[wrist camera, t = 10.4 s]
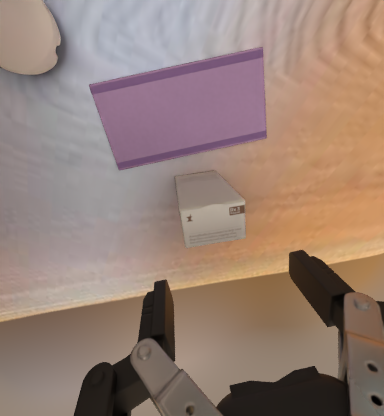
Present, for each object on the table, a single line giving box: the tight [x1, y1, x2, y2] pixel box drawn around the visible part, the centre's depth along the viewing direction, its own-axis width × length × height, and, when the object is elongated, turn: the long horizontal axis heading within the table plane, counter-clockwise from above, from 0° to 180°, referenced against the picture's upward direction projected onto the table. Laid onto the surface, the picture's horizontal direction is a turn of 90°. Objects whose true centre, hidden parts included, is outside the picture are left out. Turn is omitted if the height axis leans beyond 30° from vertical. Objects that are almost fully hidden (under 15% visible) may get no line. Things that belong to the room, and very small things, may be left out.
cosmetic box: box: [175, 171, 246, 248], centre depth 24 cm, size 6×4×12 cm
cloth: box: [89, 47, 267, 170], centre depth 26 cm, size 20×10×1 cm, turn 101°
